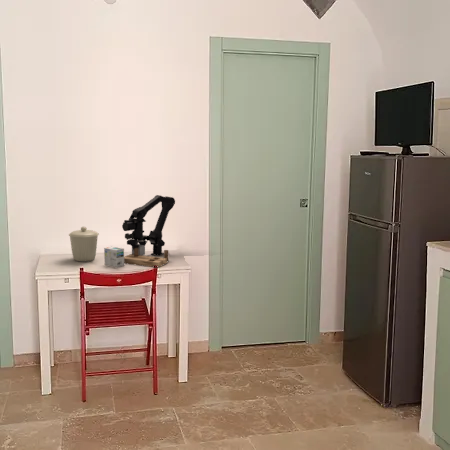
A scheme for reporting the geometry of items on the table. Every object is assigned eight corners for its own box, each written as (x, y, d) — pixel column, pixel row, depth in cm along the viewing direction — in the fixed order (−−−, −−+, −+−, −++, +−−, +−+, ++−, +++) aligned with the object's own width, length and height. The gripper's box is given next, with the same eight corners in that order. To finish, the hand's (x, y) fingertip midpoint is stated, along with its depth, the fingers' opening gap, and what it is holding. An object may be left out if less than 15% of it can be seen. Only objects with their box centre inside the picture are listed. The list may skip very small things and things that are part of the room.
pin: (165, 260, 372) (165, 249, 370) (169, 261, 371) (169, 250, 369) (163, 261, 369) (163, 250, 368) (167, 262, 368) (167, 251, 367)
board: (131, 258, 375) (130, 246, 374) (167, 263, 365) (167, 250, 364) (120, 262, 364) (120, 250, 363) (157, 267, 354) (157, 254, 353)
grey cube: (136, 253, 381) (136, 244, 380) (144, 254, 379) (144, 245, 378) (131, 255, 376) (131, 246, 375) (140, 256, 373) (140, 247, 372)
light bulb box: (124, 265, 358) (124, 248, 356) (116, 267, 352) (116, 250, 350) (112, 262, 364) (111, 245, 362) (104, 265, 358) (103, 247, 356)
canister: (102, 257, 378) (102, 224, 374) (93, 263, 360) (93, 229, 356) (75, 255, 379) (74, 223, 376) (65, 262, 362) (64, 228, 358)
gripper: (135, 225, 386) (135, 249, 389) (119, 230, 369) (119, 255, 372) (150, 227, 382) (150, 250, 384) (134, 232, 365) (135, 256, 367)
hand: (138, 253), depth 377 cm, fingers closed on grey cube, 6 cm apart
